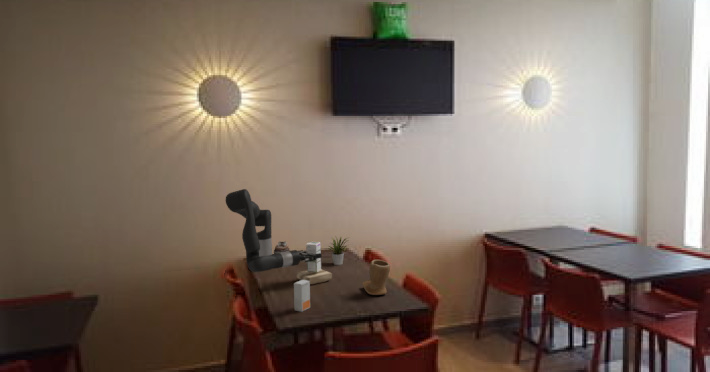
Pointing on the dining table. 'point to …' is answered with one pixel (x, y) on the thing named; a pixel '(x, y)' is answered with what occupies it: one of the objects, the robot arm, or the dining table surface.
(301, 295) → the skincare box
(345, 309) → the dining table surface
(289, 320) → the dining table surface
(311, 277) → the wood stand
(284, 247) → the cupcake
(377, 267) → the stone cup
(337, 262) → the house plant
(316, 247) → the syrup box
